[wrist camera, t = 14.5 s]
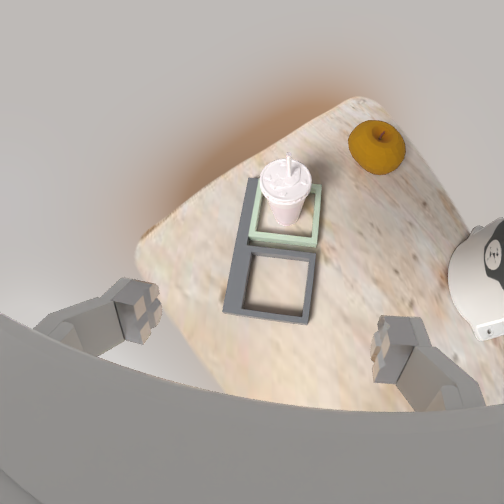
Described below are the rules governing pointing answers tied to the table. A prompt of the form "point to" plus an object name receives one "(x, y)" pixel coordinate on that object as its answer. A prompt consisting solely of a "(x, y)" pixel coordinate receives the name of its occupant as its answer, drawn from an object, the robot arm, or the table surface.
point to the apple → (377, 147)
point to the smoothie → (285, 188)
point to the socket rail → (245, 252)
